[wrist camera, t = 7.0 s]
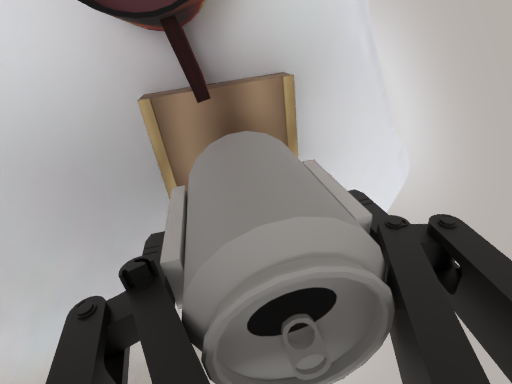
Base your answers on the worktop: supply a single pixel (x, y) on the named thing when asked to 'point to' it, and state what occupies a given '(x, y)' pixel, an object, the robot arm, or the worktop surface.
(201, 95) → the mug
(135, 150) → the worktop surface
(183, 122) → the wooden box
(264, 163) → the can
